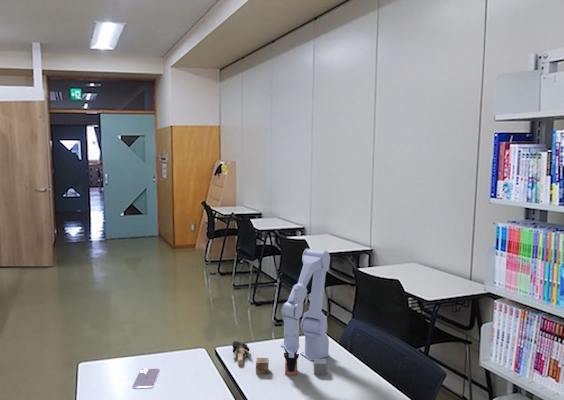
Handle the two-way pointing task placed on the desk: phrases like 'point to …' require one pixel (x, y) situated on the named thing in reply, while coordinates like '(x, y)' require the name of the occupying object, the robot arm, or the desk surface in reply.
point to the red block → (290, 372)
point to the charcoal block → (319, 366)
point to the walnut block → (262, 365)
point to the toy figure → (240, 351)
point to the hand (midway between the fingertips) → (291, 368)
